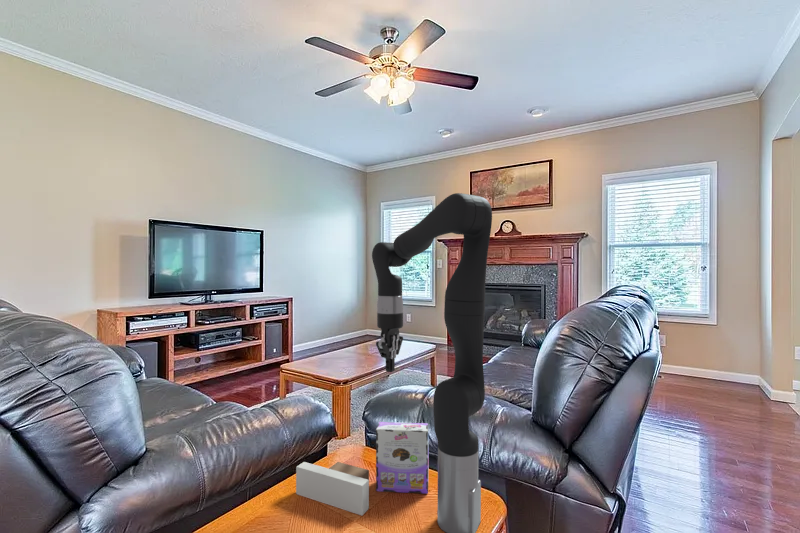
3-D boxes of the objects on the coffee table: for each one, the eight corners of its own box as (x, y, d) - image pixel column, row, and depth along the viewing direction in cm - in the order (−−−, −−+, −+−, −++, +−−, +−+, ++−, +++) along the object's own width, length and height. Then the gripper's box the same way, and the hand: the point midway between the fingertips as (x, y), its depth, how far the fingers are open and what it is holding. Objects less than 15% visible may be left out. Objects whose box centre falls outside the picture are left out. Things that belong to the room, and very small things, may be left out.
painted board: (368, 508, 97) (368, 479, 97) (362, 515, 94) (362, 485, 94) (303, 488, 105) (304, 461, 106) (296, 493, 103) (296, 466, 103)
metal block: (368, 488, 106) (369, 470, 106) (352, 504, 99) (352, 484, 99) (337, 479, 110) (337, 461, 110) (319, 494, 103) (319, 474, 103)
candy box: (428, 482, 109) (429, 422, 109) (428, 495, 103) (428, 431, 103) (378, 479, 110) (379, 420, 110) (375, 491, 104) (375, 428, 104)
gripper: (391, 314, 108) (391, 378, 108) (411, 309, 120) (411, 367, 119) (367, 312, 111) (367, 375, 111) (389, 309, 123) (389, 365, 123)
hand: (390, 371), depth 115 cm, fingers closed
